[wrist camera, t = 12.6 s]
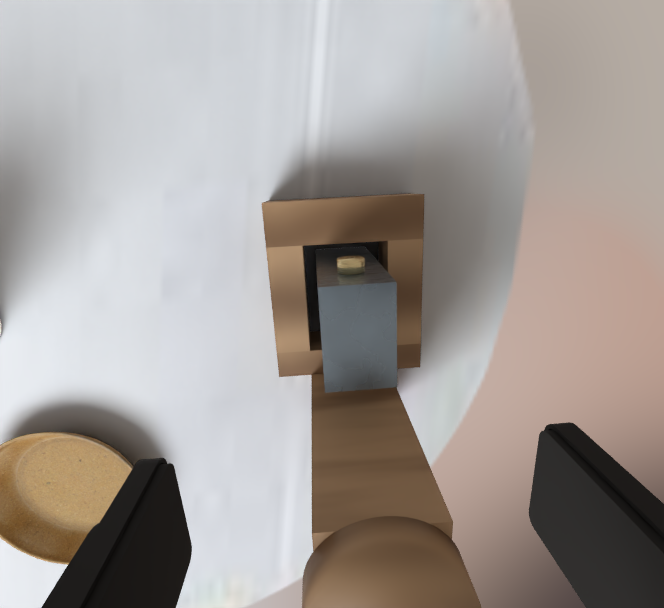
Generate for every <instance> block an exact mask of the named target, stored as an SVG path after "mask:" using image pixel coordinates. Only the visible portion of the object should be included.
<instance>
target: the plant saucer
mask: <svg viewBox="0 0 664 608" xmlns="http://www.w3.org/2000/svg"><path fill="white" fill-rule="evenodd" d="M132 469H133V466H132V464H131V463H130V462H129V461H128V460H127V459H126V458H125V457H124V456H123V455H122V454H121V453H120V452H118V451H117V450H116V449H114V448H113V447H111V446H109V445H108V444H106V443H104V442H102V441H99V440H97V439H94V438H92V437H88V436H85V435H80V434H75V433H68V432H41V433H33V434H27V435H23V436H20V437H17V438H14V439H11V440H9V441H7V442H5V443H3V444H1V445H0V538H1V539H2V540H4V541H5V542H7V543H8V544H10V545H11V546H12V547H14V548H16V549H17V550H20V551H21V552H23V553H26V554H28V555H30V556H33V557H35V558H37V559H41V560H44V561H48V562H53V563H60V564H68V565H69V563H70V561H71V560H72V558H73V557H74V555H75V553H76V552H77V550H78V549H79V547H80V545H81V544H82V542H83V541H84V539H85V537H86V536H87V534H88V533H89V532H90V530H91V529H92V528H93V527H94V526H95V525H96V524H98V523H100V521H101V519H102V518H103V516H104V515H105V513H106V511H107V510H108V508H109V506H110V505H111V503H112V502H113V500H114V498H115V497H116V495H117V493H118V492H119V490H120V488H121V487H122V485H123V484H124V482H125V480H126V479H127V477H128V475H129V474H130V472H131V471H132Z"/></svg>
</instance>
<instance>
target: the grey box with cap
mask: <svg viewBox="0 0 664 608" xmlns="http://www.w3.org/2000/svg"><path fill="white" fill-rule="evenodd" d="M315 252H316V269H317V286H318V301H319V315H320V329H321V343H322V358H323V372H324V386H325V393H329V392H342V391H355V390H368V389H381V388H394V387H397V282H396V281H395V280H394V279H393V277H392V276H391V275H390V274H389V273H388V272H387V271H386V270H385V269H384V267H383V266H382V265H381V264H380V263H379V262H378V261H377V260H376V258H375V257H374V256H373V255H372V254H371V253H370V252H369V251H368V249H367V248H366V247H365V246H361V247H346V248H330V249H315Z"/></svg>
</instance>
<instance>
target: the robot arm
mask: <svg viewBox="0 0 664 608" xmlns="http://www.w3.org/2000/svg"><path fill="white" fill-rule="evenodd" d="M529 517H530V521H531V523H532V526H533V527H534V529H535V531H536V532H537V534H538V535H539V537H540V538H541V540H542V541H543V543H544V544H545V546H546V547H547V549H548V550H549V552H550V553H551V555H552V556H553V558H554V559H555V561H556V562H557V564H558V566H559V567H560V569H561V570H562V572H563V573H564V574H565V576H566V578H567V579H568V581H569V582H570V584H571V585H572V587H573V588H574V590H575V592H576V593H577V595H578V596H579V597H580V599H581V601H582V602H583V603H584V605H585V607H586V608H664V504H663V503H662V502H661V501H660V500H659V499H658V498H656V497H655V496H654V495H653V494H652V493H651V492H650V491H649V490H647V489H646V488H645V487H644V486H643V485H642V484H641V483H640V482H639V481H638V480H636V479H635V478H634V477H633V476H632V475H631V474H629V472H628V471H626V470H625V469H624V468H623V467H622V466H620V464H619V463H618V462H616V461H615V460H614V459H613V458H612V457H611V456H610V455H609V454H607V453H606V452H605V451H604V450H603V449H602V448H601V447H600V446H599V445H597V444H596V443H595V442H594V441H593V440H592V439H591V438H590V437H589V436H587V435H586V434H585V433H584V432H583V431H582V430H581V429H580V428H578V427H577V426H576V425H575V424H573V423H559V424H549V425H547V426H546V427H545V430H544V431H542V432H541V433H540V435H539V441H538V448H537V456H536V463H535V470H534V477H533V485H532V492H531V499H530V507H529ZM191 552H192V546H191V540H190V536H189V531H188V527H187V522H186V518H185V513H184V509H183V505H182V500H181V496H180V491H179V487H178V482H177V478H176V474H175V469H174V466H173V464H171V463H170V464H167V462H166V460H165V459H164V458H156V459H144V460H139V461H138V462H137V463H136V464H135V466H134V467H133V469H132V471H131V472H130V474H129V475H128V477H127V479H126V480H125V482H124V484H123V485H122V487H121V488H120V490H119V492H118V493H117V495H116V497H115V498H114V500H113V502H112V503H111V505H110V506H109V508H108V510H107V511H106V513H105V515H104V516H103V518H102V519H101V521H100V523H98V524H96V525H95V526H94V527H93V528H92V529H91V530H90V532H89V533H88V534H87V536H86V537H85V539H84V541H83V542H82V544H81V545H80V547H79V549H78V550H77V552H76V553H75V555H74V557H73V558H72V560H71V561H70V563H69V565H68V566H67V568H66V569H65V571H64V573H63V574H62V576H61V577H60V579H59V580H58V582H57V584H56V585H55V587H54V588H53V590H52V592H51V593H50V595H49V596H48V598H47V600H46V601H45V603H44V604H43V606H42V608H176V605H177V602H178V599H179V595H180V592H181V589H182V586H183V582H184V579H185V576H186V573H187V570H188V566H189V563H190V559H191Z"/></svg>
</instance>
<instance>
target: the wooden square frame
mask: <svg viewBox="0 0 664 608" xmlns="http://www.w3.org/2000/svg"><path fill="white" fill-rule="evenodd" d="M262 211H263V221H264V231H265V241H266V250H267V260H268V270H269V280H270V290H271V300H272V309H273V319H274V329H275V339H276V349H277V358H278V368H279V377H283V376H298V375H312V540H313V551H314V552H313V553H312V555H311V556H310V558H309V560H308V562H307V564H306V567H305V570H304V575H303V592H302V593H303V594H302V608H481V604H480V602H479V599H478V597H477V594H476V592H475V589H474V587H473V584H472V582H471V579H470V577H469V575H468V572H467V570H466V567H465V565H464V562H463V560H462V557H461V555H460V552H459V550H458V548H457V547H456V545H455V543H454V542H453V541H452V528H453V521H452V519H451V516H450V514H449V511H448V509H447V506H446V504H445V502H444V499H443V497H442V495H441V492H440V490H439V488H438V485H437V483H436V480H435V478H434V476H433V473H432V471H431V469H430V466H429V464H428V462H427V459H426V457H425V454H424V452H423V450H422V447H421V445H420V443H419V440H418V438H417V436H416V433H415V431H414V428H413V426H412V424H411V421H410V419H409V417H408V414H407V412H406V410H405V407H404V405H403V402H402V400H401V398H400V395H399V393H398V391H397V388H396V387H394V388H381V389H368V390H355V391H342V392H329V393H325V386H324V372H323V358H322V343H321V331H311V332H310V323H309V309H308V295H307V281H306V267H305V253H304V246H305V245H323V244H340V243H358V242H375V241H378V258H379V263H380V264H381V265H382V266H383V267H384V269H385V270H386V271H387V272H388V273H389V274H390V275H391V276H392V277H393V279H394V280H395V281H396V282H397V369H399V368H414V367H420V351H421V309H422V267H423V224H424V194H410V193H408V194H389V195H370V196H351V197H332V198H313V199H294V200H275V201H266V202H263V203H262Z"/></svg>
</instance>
